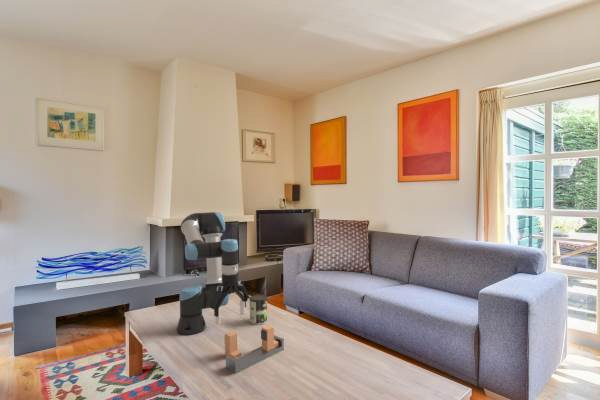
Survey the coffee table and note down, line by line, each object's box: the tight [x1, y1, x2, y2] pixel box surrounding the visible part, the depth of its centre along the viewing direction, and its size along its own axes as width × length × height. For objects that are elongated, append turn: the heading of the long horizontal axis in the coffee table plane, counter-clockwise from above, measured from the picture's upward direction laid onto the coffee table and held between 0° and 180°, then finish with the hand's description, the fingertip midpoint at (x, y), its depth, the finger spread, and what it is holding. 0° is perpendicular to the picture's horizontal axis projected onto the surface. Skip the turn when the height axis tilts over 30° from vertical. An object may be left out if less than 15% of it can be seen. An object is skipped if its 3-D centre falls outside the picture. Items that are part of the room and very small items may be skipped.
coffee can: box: [249, 294, 268, 326], centre depth 194 cm, size 10×10×14 cm
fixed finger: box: [260, 324, 279, 351], centre depth 157 cm, size 4×8×10 cm, turn 137°
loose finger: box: [224, 330, 242, 359], centre depth 154 cm, size 4×8×10 cm, turn 47°
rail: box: [225, 334, 285, 374], centre depth 151 cm, size 7×28×5 cm, turn 137°
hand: (230, 318), depth 154 cm, fingers open, 13 cm apart
